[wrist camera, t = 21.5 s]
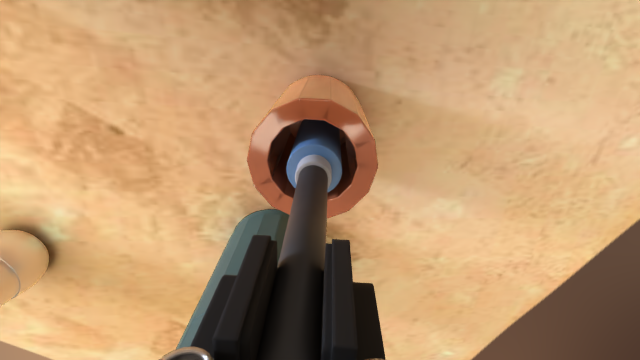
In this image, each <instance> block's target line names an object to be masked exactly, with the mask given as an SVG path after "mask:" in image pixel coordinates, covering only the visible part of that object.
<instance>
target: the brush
mask: <svg viewBox="0 0 640 360" xmlns="http://www.w3.org/2000/svg"><path fill="white" fill-rule="evenodd" d="M286 170H287V176H288V179H289V181H290V183H291V184H292V185H293V187H294V188H296V189H295V194H294V198H293V202H292V206H291V211H290V215H289V219H288V224H287V228H286V232H285V236H284V241H283V245H282V249H281V253H280V258H279V262H278V266H277V273H276V277H275V281H274V286H273V290H272V294H271V299H270V303H269V307H268V311H267V316H266V320H265V324H264V329H263V333H262V337H261V342H260V346H259V350H258V354H257V359H256V360H320V357H321V331H322V305H323V279H324V260H325V245H326V227H327V193H328V192H330V191H331V190H333V189H334V188H335V187H336V186H337V184H338V183H339V181H340V179H341V176H342V161H341V147H340V133H339V128H337V127H335V126H333V125H332V124H330V123H328V122H326V121H323V120H303V121H302V123H301V125H300V127H299V130H298V133H297V136H296V139H295V142H294V145H293V148H292V151H291V153H290V156H289V159H288V162H287V168H286Z"/></svg>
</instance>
